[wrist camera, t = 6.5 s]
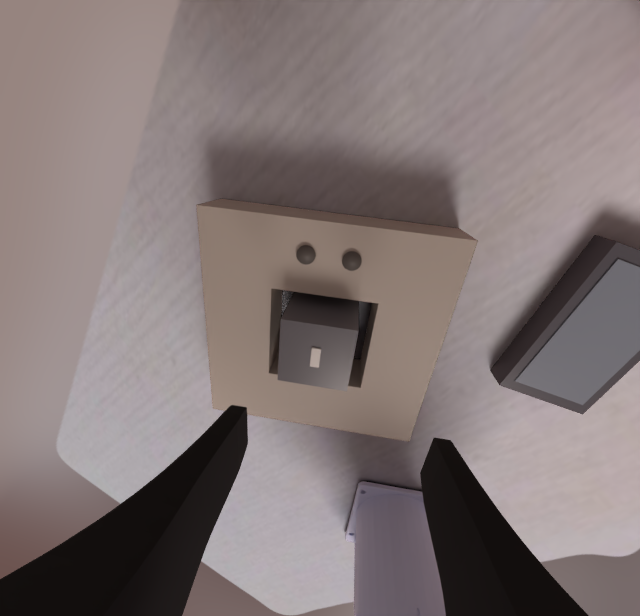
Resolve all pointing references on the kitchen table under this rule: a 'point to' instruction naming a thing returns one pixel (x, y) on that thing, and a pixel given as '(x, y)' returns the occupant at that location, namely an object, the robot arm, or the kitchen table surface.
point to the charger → (318, 341)
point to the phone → (580, 331)
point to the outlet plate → (333, 281)
